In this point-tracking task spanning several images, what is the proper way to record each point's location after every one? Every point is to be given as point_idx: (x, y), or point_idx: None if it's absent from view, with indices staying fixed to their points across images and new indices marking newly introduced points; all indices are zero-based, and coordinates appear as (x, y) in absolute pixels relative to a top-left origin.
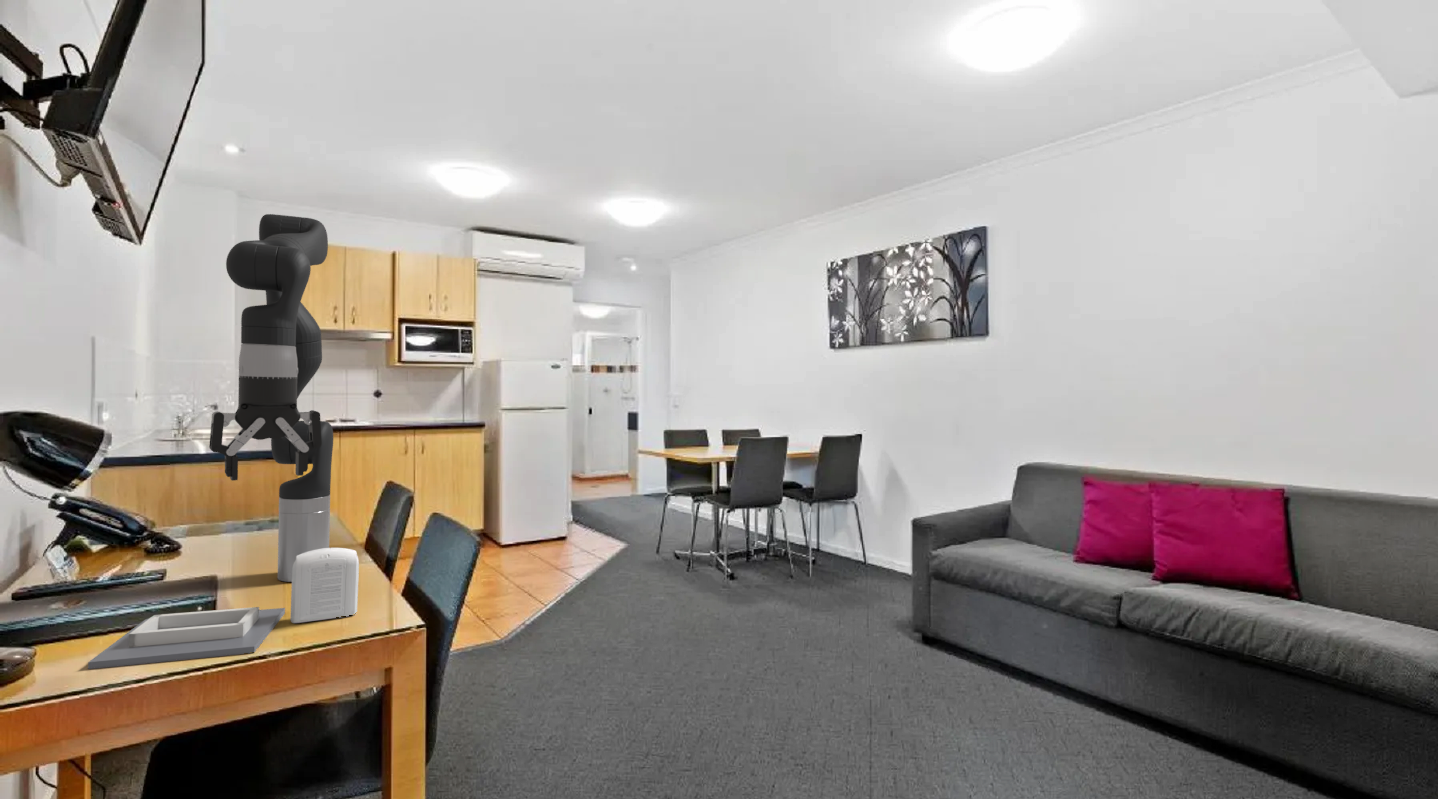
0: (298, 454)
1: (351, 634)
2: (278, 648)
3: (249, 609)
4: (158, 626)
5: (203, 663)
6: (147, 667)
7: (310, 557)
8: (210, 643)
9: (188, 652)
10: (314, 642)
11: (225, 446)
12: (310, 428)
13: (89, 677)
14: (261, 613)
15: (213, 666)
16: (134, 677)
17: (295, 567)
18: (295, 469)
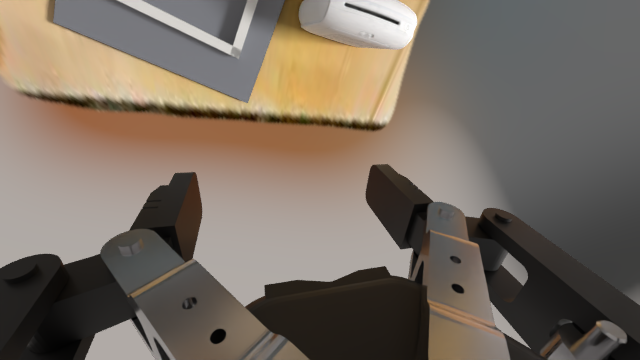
0: (398, 244)
1: (337, 109)
2: (270, 103)
3: None
4: None
5: (198, 98)
6: (138, 69)
7: (346, 26)
8: (202, 56)
9: (179, 74)
10: (303, 109)
11: (110, 326)
12: (540, 306)
13: (73, 59)
14: None
15: (208, 115)
16: (130, 95)
17: (321, 15)
18: (378, 169)
